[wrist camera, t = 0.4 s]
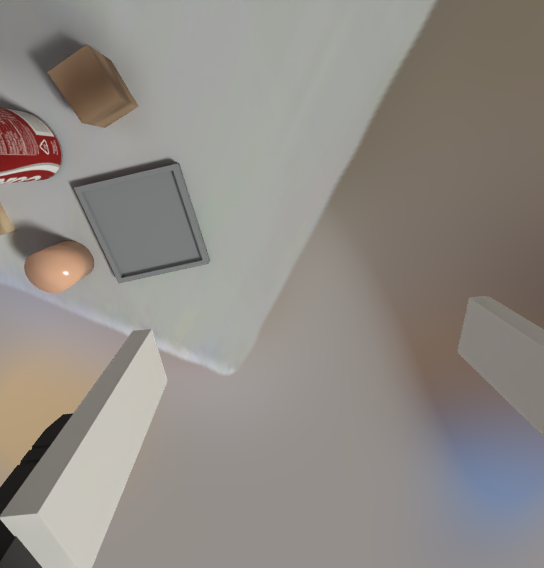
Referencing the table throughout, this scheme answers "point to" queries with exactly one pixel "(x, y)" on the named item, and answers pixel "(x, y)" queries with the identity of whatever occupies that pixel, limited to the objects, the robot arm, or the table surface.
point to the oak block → (5, 222)
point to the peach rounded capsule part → (59, 266)
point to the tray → (145, 223)
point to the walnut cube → (93, 87)
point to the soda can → (27, 148)
